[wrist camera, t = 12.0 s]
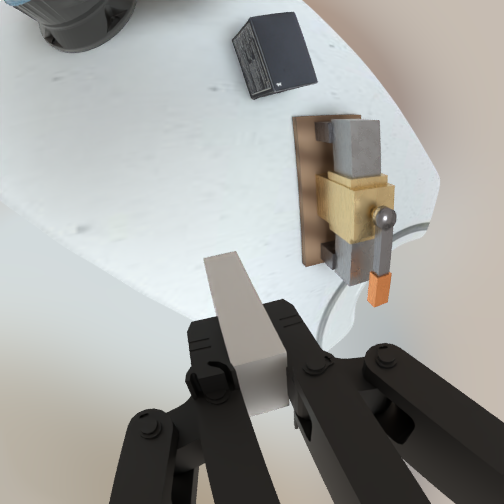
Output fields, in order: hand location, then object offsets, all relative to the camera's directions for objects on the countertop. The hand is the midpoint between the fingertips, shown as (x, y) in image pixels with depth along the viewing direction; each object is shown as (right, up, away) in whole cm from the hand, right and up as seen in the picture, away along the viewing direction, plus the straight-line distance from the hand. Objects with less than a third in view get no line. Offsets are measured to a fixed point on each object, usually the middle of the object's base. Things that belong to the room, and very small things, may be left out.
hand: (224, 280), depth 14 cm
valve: (+15, +11, +34) cm, 39 cm away
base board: (+15, +12, +35) cm, 40 cm away
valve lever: (+19, +1, +26) cm, 32 cm away
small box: (+3, +29, +24) cm, 38 cm away
